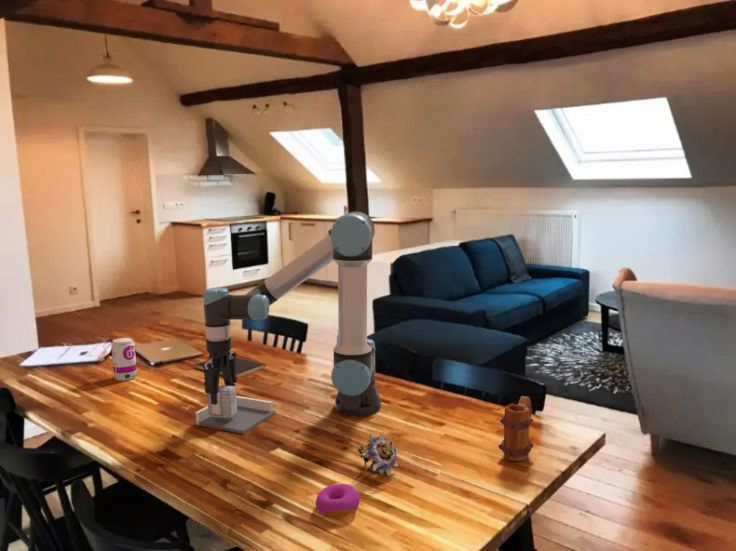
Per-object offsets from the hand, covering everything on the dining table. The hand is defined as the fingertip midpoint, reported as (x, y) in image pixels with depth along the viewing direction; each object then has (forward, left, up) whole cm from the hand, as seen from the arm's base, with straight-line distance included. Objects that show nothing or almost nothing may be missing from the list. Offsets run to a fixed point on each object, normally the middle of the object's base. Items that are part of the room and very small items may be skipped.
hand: (222, 409), depth 199 cm
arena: (-3, -3, -4) cm, 6 cm away
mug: (-90, -13, -4) cm, 91 cm away
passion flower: (-58, +11, -4) cm, 59 cm away
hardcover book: (+32, -46, -5) cm, 56 cm away
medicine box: (0, 0, -2) cm, 2 cm away
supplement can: (+62, -20, -4) cm, 65 cm away
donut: (-58, +32, -4) cm, 66 cm away
